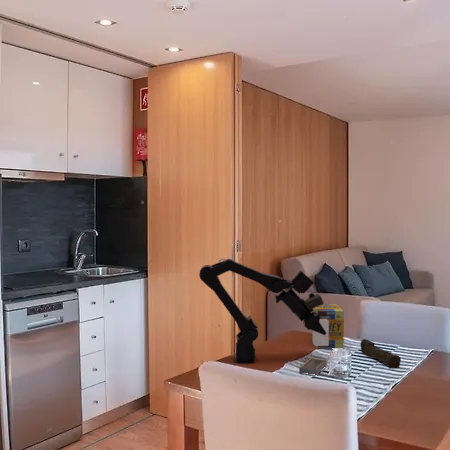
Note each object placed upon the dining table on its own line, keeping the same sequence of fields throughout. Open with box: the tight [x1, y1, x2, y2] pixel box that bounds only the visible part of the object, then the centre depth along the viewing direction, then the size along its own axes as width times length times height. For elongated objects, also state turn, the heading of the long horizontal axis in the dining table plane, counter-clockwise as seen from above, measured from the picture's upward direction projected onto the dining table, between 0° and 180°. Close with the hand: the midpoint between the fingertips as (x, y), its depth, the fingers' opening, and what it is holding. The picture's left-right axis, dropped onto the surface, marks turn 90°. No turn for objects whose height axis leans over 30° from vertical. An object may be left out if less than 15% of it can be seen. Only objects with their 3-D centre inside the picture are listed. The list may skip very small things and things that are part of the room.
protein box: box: [311, 303, 345, 349], centre depth 213 cm, size 10×15×16 cm
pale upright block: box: [312, 319, 329, 347], centre depth 192 cm, size 4×5×9 cm
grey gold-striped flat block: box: [298, 357, 328, 376], centre depth 180 cm, size 12×6×2 cm, turn 153°
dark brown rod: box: [360, 338, 402, 369], centre depth 193 cm, size 23×5×6 cm, turn 13°
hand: (324, 332), depth 192 cm, fingers closed on pale upright block, 4 cm apart
